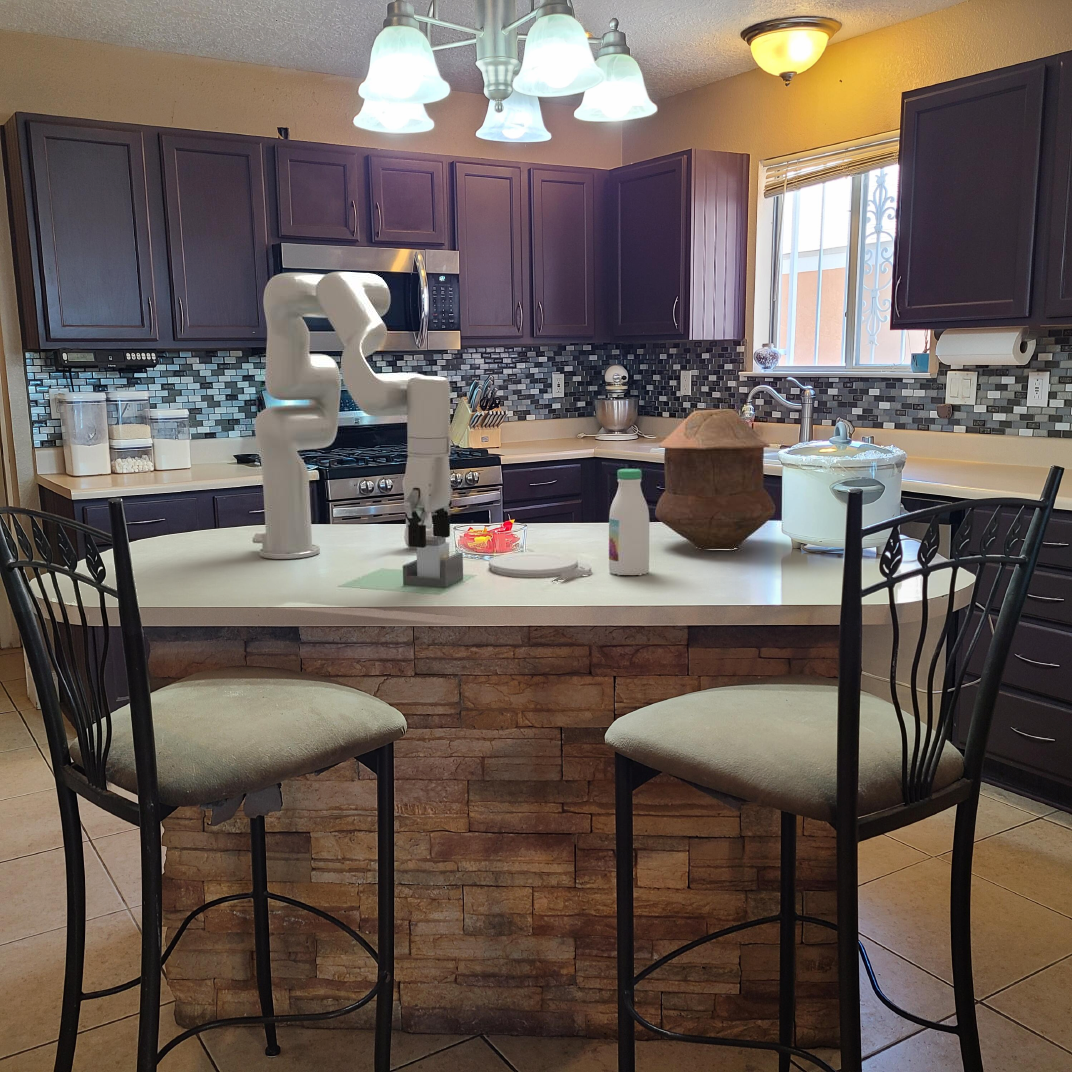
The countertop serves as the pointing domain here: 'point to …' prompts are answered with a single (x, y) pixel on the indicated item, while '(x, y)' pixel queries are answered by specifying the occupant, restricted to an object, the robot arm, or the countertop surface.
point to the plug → (432, 557)
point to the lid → (538, 565)
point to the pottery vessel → (714, 480)
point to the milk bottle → (629, 526)
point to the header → (449, 577)
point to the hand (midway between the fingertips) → (429, 541)
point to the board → (395, 582)
